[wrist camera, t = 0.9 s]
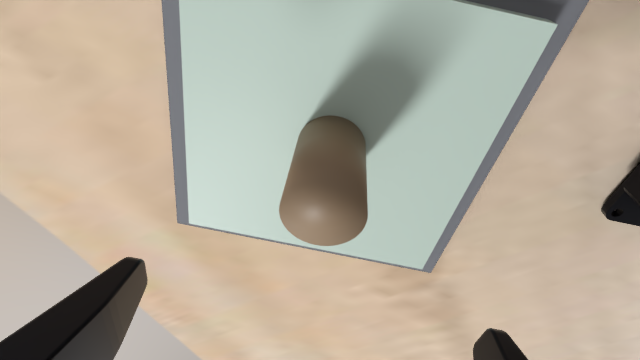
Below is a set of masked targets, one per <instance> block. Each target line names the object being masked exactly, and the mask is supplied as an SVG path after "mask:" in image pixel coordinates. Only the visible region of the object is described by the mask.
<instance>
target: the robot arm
mask: <svg viewBox="0 0 640 360" xmlns="http://www.w3.org/2000/svg"><path fill="white" fill-rule="evenodd" d="M601 211H602V213H603V214H604V215H605V216H606V218H607V219H609V220H612V221H617V222H622V223H627V224H632V225H636V226H640V164H639V165H638V166H637V167H636V168H635V170H634V171H633V172H632V173H631V174H630V175H629V176H628V178H627V179H626V180H625V181H624V182H623V183H622V184H621V186H620V187H619V188H618V189H617V190H616V191H615V192H614V194H613V195H612V196H611V197H610V198H609V199H608V200H607V202H606V203H605V204H604V205H603V206H602V208H601ZM146 285H147V274H146V268H145V263H144V261H143V260H142V259H138V258H133V257H126V258H124V259H122V260H121V261H119V262H118V263H116V264H115V265H113V266H112V267H110V268H109V269H107V270H106V271H104V272H103V273H101V274H100V275H98V276H97V277H95V278H94V279H93V280H91V281H90V282H88V283H87V284H85V285H84V286H82V287H81V288H79V289H78V290H76V291H75V292H73V293H72V294H70V295H69V296H67V297H66V298H64V299H63V300H62V301H60V302H59V303H57V304H56V305H54V306H53V307H51V308H50V309H48V310H47V311H45V312H44V313H42V314H41V315H40V316H38V317H36V318H35V319H33V320H32V321H30V322H29V323H28V324H26V325H25V326H23V327H22V328H20V329H19V330H17V331H16V332H14V333H13V334H11V335H10V336H8V337H7V338H5V339H4V340H2V341H1V342H0V360H113V359H114V357H115V355H116V354H117V352H118V350H119V348H120V346H121V344H122V342H123V339H124V337H125V335H126V332H127V330H128V328H129V326H130V323H131V321H132V319H133V316H134V314H135V312H136V309H137V307H138V305H139V302H140V300H141V298H142V295H143V293H144V291H145V288H146ZM473 358H474V360H528V359H527V358H526V356H525V355H524V354H523V353H522V351H521V350H520V349H519V348H518V346H517V345H516V344H515V343H514V341H513V340H512V339H511V337H510V336H509V335H508V334H507V333H506V332H504V331H502V330H497V329H492V328H489V329H487V330H486V331H485V332H484V333H483V334H482V336H481V337H480V338H479V339H478V340H477V341H476V343H475V345H474V348H473Z"/></svg>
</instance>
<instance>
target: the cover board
mask: <svg viewBox="0 0 640 360" xmlns="http://www.w3.org/2000/svg"><path fill="white" fill-rule="evenodd" d="M179 13H180V35H181V57H182V79H183V102H184V124H185V146H186V169H187V191H188V213H189V224H194V225H199V226H204V227H209V228H214V229H219V230H225V231H230V232H235V233H240V234H245V235H250V236H255V237H260V238H265V239H270V240H275V241H280V242H285V243H290V244H296V245H301V246H306V247H311V248H316V249H321V250H326V251H331V252H336V253H341V254H346V255H351V256H356V257H361V258H367V259H372V260H377V261H382V262H387V263H392V264H397V265H402V266H407V267H412V268H417V269H423V267H424V265H425V264H426V262H427V260H428V258H429V256H430V254H431V253H432V251H433V249H434V247H435V245H436V244H437V242H438V240H439V238H440V236H441V235H442V233H443V231H444V229H445V227H446V226H447V224H448V222H449V220H450V218H451V217H452V215H453V213H454V211H455V209H456V208H457V206H458V204H459V202H460V200H461V199H462V197H463V195H464V193H465V191H466V190H467V188H468V186H469V184H470V182H471V181H472V179H473V177H474V175H475V173H476V171H477V170H478V168H479V166H480V164H481V162H482V161H483V159H484V157H485V155H486V153H487V152H488V150H489V148H490V146H491V144H492V143H493V141H494V139H495V137H496V135H497V134H498V132H499V130H500V128H501V126H502V125H503V123H504V121H505V119H506V117H507V116H508V114H509V112H510V110H511V108H512V107H513V105H514V103H515V101H516V99H517V98H518V96H519V94H520V92H521V90H522V89H523V87H524V85H525V83H526V81H527V79H528V78H529V76H530V74H531V72H532V70H533V69H534V67H535V65H536V63H537V61H538V60H539V58H540V56H541V54H542V52H543V51H544V49H545V47H546V45H547V43H548V42H549V40H550V38H551V36H552V34H553V33H554V31H555V29H556V27H557V25H558V24H556V23H554V22H552V21H550V20H548V19H544V18H540V17H536V16H531V15H527V14H523V13H518V12H514V11H509V10H505V9H501V8H496V7H492V6H488V5H483V4H479V3H474V2H470V1H466V0H179Z"/></svg>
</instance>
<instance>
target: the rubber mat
mask: <svg viewBox="0 0 640 360" xmlns="http://www.w3.org/2000/svg"><path fill="white" fill-rule="evenodd" d="M466 1H470V2H474V3H479V4H483V5H488V6H492V7H496V8H501V9H505V10H509V11H514V12H518V13H523V14H527V15H531V16H536V17H540V18H544V19H548V20H550V21H552V22H554V23H556V24H558V25H557V27H556V29H555V31H554V33H553V34H552V36H551V38H550V40H549V42H548V43H547V45H546V47H545V49H544V51H543V52H542V54H541V56H540V58H539V60H538V61H537V63H536V65H535V67H534V69H533V70H532V72H531V74H530V76H529V78H528V79H527V81H526V83H525V85H524V87H523V89H522V90H521V92H520V94H519V96H518V98H517V99H516V101H515V103H514V105H513V107H512V108H511V110H510V112H509V114H508V116H507V117H506V119H505V121H504V123H503V125H502V126H501V128H500V130H499V132H498V134H497V135H496V137H495V139H494V141H493V143H492V144H491V146H490V148H489V150H488V152H487V153H486V155H485V157H484V159H483V161H482V162H481V164H480V166H479V168H478V170H477V171H476V173H475V175H474V177H473V179H472V181H471V182H470V184H469V186H468V188H467V190H466V191H465V193H464V195H463V197H462V199H461V200H460V202H459V204H458V206H457V208H456V209H455V211H454V213H453V215H452V217H451V218H450V220H449V222H448V224H447V226H446V227H445V229H444V231H443V233H442V235H441V236H440V238H439V240H438V242H437V244H436V245H435V247H434V249H433V251H432V253H431V254H430V256H429V258H428V260H427V262H426V264H425V265H424V267H423V269H417V268H412V267H407V266H402V265H397V264H392V263H387V262H382V261H377V260H372V259H367V258H361V257H356V256H351V255H346V254H341V253H336V252H331V251H326V250H321V249H316V248H311V247H306V246H301V245H296V244H290V243H285V242H280V241H275V240H270V239H265V238H260V237H255V236H250V235H245V234H240V233H235V232H230V231H225V230H219V229H214V228H209V227H204V226H199V225H194V224H189V213H188V191H187V169H186V146H185V124H184V102H183V79H182V57H181V35H180V13H179V0H162V12H163V26H164V40H165V54H166V68H167V82H168V96H169V110H170V124H171V138H172V152H173V166H174V180H175V194H176V208H177V222H178V223H180V224H185V225H190V226H195V227H200V228H205V229H211V230H216V231H221V232H226V233H231V234H236V235H241V236H246V237H251V238H256V239H261V240H266V241H271V242H277V243H282V244H287V245H292V246H297V247H302V248H307V249H312V250H317V251H322V252H327V253H332V254H337V255H343V256H348V257H353V258H358V259H363V260H368V261H373V262H378V263H383V264H388V265H393V266H398V267H403V268H408V269H414V270H419V271H424V272H429V273H431V271H432V270H433V268H434V266H435V265H436V263H437V261H438V259H439V258H440V256H441V254H442V252H443V251H444V249H445V247H446V246H447V244H448V242H449V240H450V239H451V237H452V235H453V234H454V232H455V230H456V228H457V227H458V225H459V223H460V222H461V220H462V218H463V216H464V215H465V213H466V211H467V209H468V208H469V206H470V204H471V203H472V201H473V199H474V197H475V196H476V194H477V192H478V191H479V189H480V187H481V185H482V184H483V182H484V180H485V179H486V177H487V175H488V173H489V172H490V170H491V168H492V166H493V165H494V163H495V161H496V160H497V158H498V156H499V154H500V153H501V151H502V149H503V148H504V146H505V144H506V142H507V141H508V139H509V137H510V136H511V134H512V132H513V130H514V129H515V127H516V125H517V123H518V122H519V120H520V118H521V117H522V115H523V113H524V111H525V110H526V108H527V106H528V105H529V103H530V101H531V99H532V98H533V96H534V94H535V93H536V91H537V89H538V87H539V86H540V84H541V82H542V80H543V79H544V77H545V75H546V74H547V72H548V70H549V68H550V67H551V65H552V63H553V62H554V60H555V58H556V56H557V55H558V53H559V51H560V50H561V48H562V46H563V44H564V43H565V41H566V39H567V37H568V36H569V34H570V32H571V31H572V29H573V27H574V25H575V24H576V22H577V20H578V19H579V17H580V15H581V13H582V12H583V10H584V8H585V7H586V5H587V3H588V1H589V0H466Z"/></svg>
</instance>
